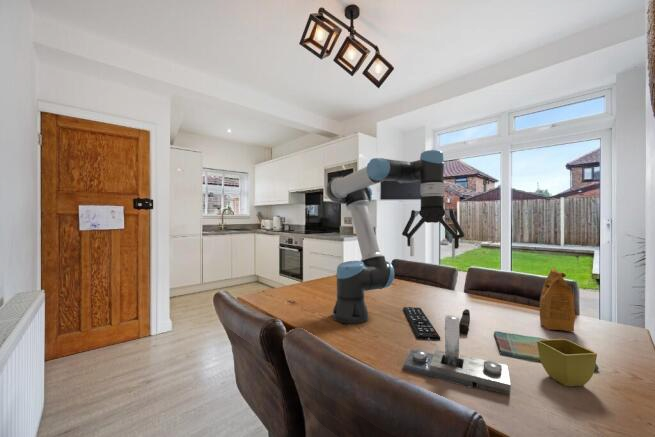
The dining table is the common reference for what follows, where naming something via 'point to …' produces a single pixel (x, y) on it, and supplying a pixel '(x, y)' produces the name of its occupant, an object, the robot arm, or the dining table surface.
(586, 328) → the dining table surface
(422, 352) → the lower chain end
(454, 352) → the steel pin
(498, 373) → the grey block with knob
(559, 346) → the flower pot
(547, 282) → the coffee package
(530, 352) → the dish towel
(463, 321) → the hand tool
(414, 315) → the remote control
